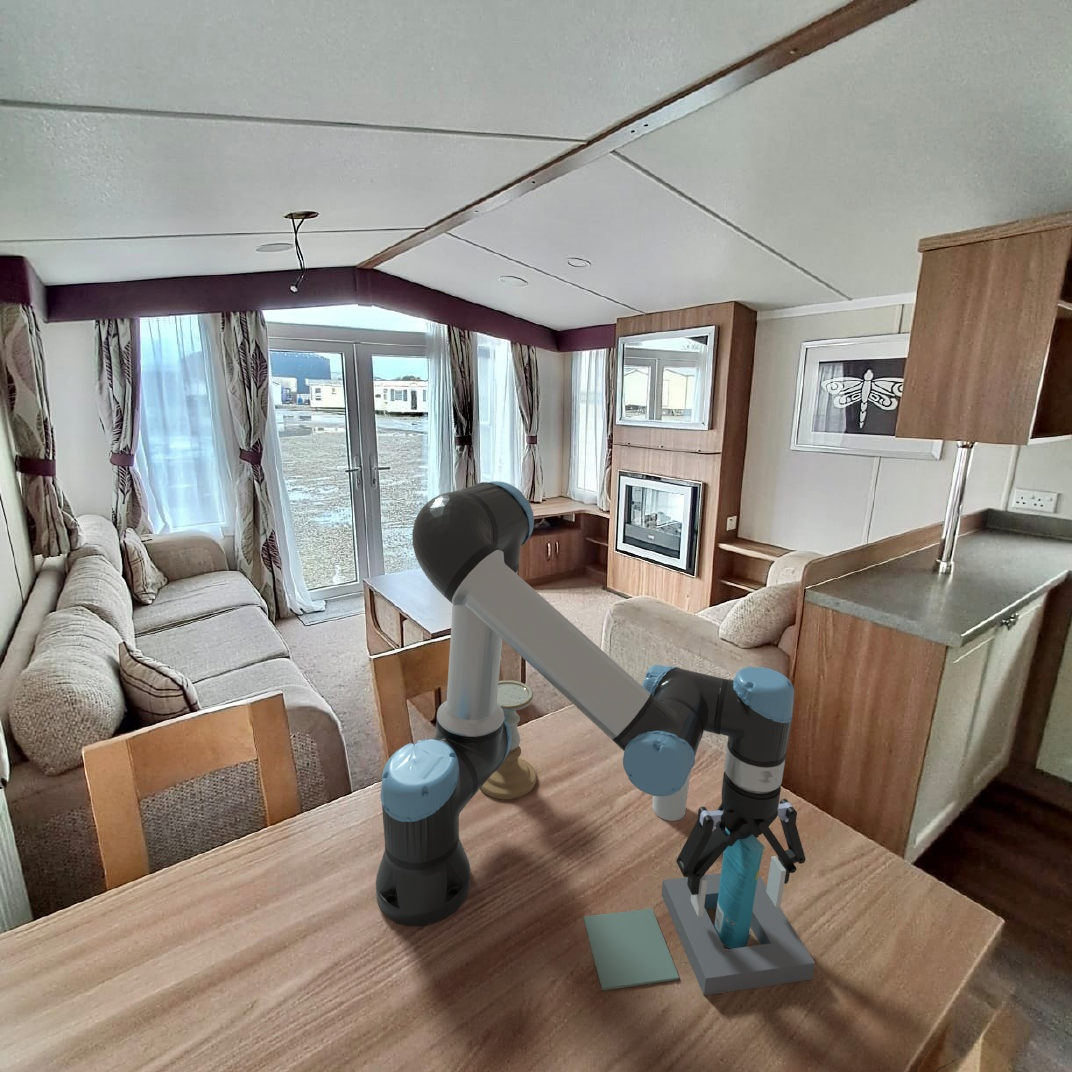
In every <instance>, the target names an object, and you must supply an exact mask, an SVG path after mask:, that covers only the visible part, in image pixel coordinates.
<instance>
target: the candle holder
mask: <svg viewBox="0 0 1072 1072" xmlns="http://www.w3.org/2000/svg"><path fill="white" fill-rule="evenodd" d="M533 700H534V691H533V689H532V687H530V686H529V685H528V684H526V683H523V682H520V681H517V680H513V679H511V680H510V679H509V680H507V679H506V680H504V679H503V680H499V682H498V693H497V704H498V705H499V706H500V707H501V708H502V710H503V713H504V716H505V718H506V719H505V721H506V723H509V725H510V729H511V734H512V742H511V747H510V750H509V753H508V754H507V756H506V758H505V760H504V761H503V763H502V765H501V766H500V767H499V768H498V769H497V770H496V771H495V772H494V773H493V774H492V775H491V776H490V777H489V779H488V780H487V781H486V782H485V783H484V784H483V786H482V787H481V788H480V789H479V790H481V792H483V793H484V794H485V795H487V796H489V797H491V798H495V799H499V800H515V799H518V798H522V797H524V796H526V795H528V793H530V792H531V791H532V790H533V788H534V787H535V785H536V782H537V771H536V770H535V767H534V766H533V765H532V764H531V763H530V762H529V761H527V760H525V759H523V758H521V757H520V756H521V755H522V749H521V746H520V744H521V735H520V733H519V729H518V724H519V722H520V721H521V720H520V715H519V714H518V712H517V711H519V710H523V709H525V708H527V707H528V706H529V705H531V704H532V702H533Z"/></svg>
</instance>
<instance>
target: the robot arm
mask: <svg viewBox="0 0 1072 1072" xmlns="http://www.w3.org/2000/svg"><path fill="white" fill-rule="evenodd" d="M534 525H535V516H534V511H533V508H532V506H531V504H530V502H529V500H528V499H527V498H526V496H525V495H524V494H523V492H522V491H521V490H519V489H518V488H517V487H515V486H514V485H512V484H511V483H508V482H504V481H499V480H497V481H495V480H494V481H482V482H477V483H475V484H473V485H471V486H467V487H464V488H461V489H458V490H453V491H448V492H444V493H442V494H439V495H437V496H435V497H433V498H431V499H430V500H429V501H428V502H427V503H426V504H424V505H423V506H422V507H421V508H420V511H418V514H417V515H416V518H415V520H414V523H413V528H412V532H411V533H412V534H411V535H412V548H413V551H414V555H415V558H416V560H417V562H418V564H419V567H420V568H421V570H422V572H423V573H424V574H425V576H426V578H427V579H428V581H429V582H430V583H431V584H432V586H433V587H435V588H436V590H437V591H438V592H439V593H440V594H441V595H442V596H443V597H444V598H446V600H448V601H449V602H450V604H452V608H451V609H452V611H451V625H450V626H451V627H450V641H449V643H450V644H449V657H448V659H449V660H448V671H447V672H448V673H447V675H448V676H447V687H446V688H447V690H446V701H444V702H443V703H441V704H440V705H439V707H438V709H437V712H436V723H435V734H434V736H433V738H432V739H431V738H427V739H426V738H425V739H420V740H417V741H416V743H414V744H413V743H412V742H409V743H407V744H405V745H404V746H401V747H400V748H399V749H397V750H396V751H395V752H394V753H393V754H391V756H390V757H389V759H388V760H387V762H386V764H385V765H384V767H383V770H382V774H381V786H380V802H381V807H382V808H381V809H382V823H383V834H384V835H383V837H384V839H383V840H384V852H383V854H382V857H381V860H380V864H379V866H378V870H377V873H376V876H375V877H376V878H375V894H376V895H375V896H376V901H377V904H378V906H379V908H380V910H381V912H382V913H383V914H384V915H385V916H386V917H387V918H389V919H390V920H392V921H394V922H395V923H397V924H400V925H401V924H402V925H406V926H409V927H410V926H411V927H412V926H416V927H417V926H418V927H420V926H426V925H427V926H428V925H431V924H435V923H437V922H440V921H442V920H444V919H446V918H447V917H449V916H451V915H452V914H453V913H455V911H457V910H458V909H459V908H460V906H461V905H462V904H463V903H464V902H465V900H466V899H467V896H468V894H469V891H470V888H471V882H472V881H471V864H470V861H469V857H468V856H467V853H466V851H465V849H464V847H463V844H462V842H461V839H460V814H461V812H462V810H463V809H464V808H465V807H466V806H467V804H469V802H470V801H471V800H473V799H472V798H474V796H475V795H476V794H477V792H479V790H481V789H480V788H481V787H482V786H483V784H484V783H485V782H486V781H487V780H488V779H489V777H490V776H491V775H492V774H493V773H494V772H495V771H496V770H497V769H498V768H499V767H500V766H501V765H502V763H503V761H504V760H505V758H506V756H507V754H508V753H509V750H510V747H511V742H512V734H511V729H510V725H509V723H506V721H505V719H506V718H505V716H504V713H503V710H502V708H501V707H500V706H499V705H498V704H497V693H498V682H499V681H500V670H501V661H502V660H501V657H502V647H503V641H504V642H505V643H506V644H507V645H508V646H509V647H510V648H511V649H512V650H514V651H515V652H516V653H517V654H518V655H519V656H520V657H522V659H524V661H526V663H528V664H529V666H531V667H533V669H534V670H535V671H537V672H538V673H539V674H540V675H541V676H542V677H543V678H544V679H546V681H547V682H548V683H550V685H552V686H553V687H554V688H555V689H556V691H558V692H559V693H561V694H562V695H563V696H564V697H565V699H567V700H568V701H569V702H570V703H571V704H572V705H573V706H574V707H576V708H577V710H579V711H580V712H581V713H582V714H583V715H585V717H587V718H588V719H589V720H590V721H591V723H593V724H594V725H596V726H597V727H598V729H599V730H600V731H602V732H603V733H604V734H605V735H606V736H607V737H608V738H610V739H611V741H613V742H614V743H615V745H617V746H618V747H619V749H620V750H623V756H622V757H623V758H622V765H623V769H624V771H625V774H626V775H627V777H628V780H629V781H630V783H631V784H632V785H633V786H634V787H636V789H638V790H639V791H641V792H642V793H645V794H647V795H650V796H652V797H653V796H669V795H672V794H674V793H676V792H677V791H679V790H680V789H681V788H682V786H683V785H684V783H685V781H686V779H687V777H688V775H689V773H690V774H691V771H692V769H694V766H695V762H696V755H697V752H698V749H699V745H700V743H701V740H702V739H703V735H704V732H707V733H711V734H716V735H720V736H726V737H727V743H726V752H725V759H724V768H723V769H724V772H723V776H722V784H721V803H720V805H719V806H718V807H717V810H708V809H707V807H706V806H701V807H699V808H698V810H697V818H696V821H695V824H694V825H693V827H692V829H691V831H690V833H689V834H688V837H687V839H686V841H685V842H684V845H683V847H682V848H681V850H680V852H679V854H678V856H677V857H676V864H677V866H678V868H679V869H680V872H681V874H682V876H683V878H684V877H688V881H687V885H688V888H689V890H690V892H691V903H692V905H693V907H694V909H695V911H696V914H697V916H698V917H702V916H703V912H704V904H705V895H706V887H707V878H706V876H705V875H706V873H707V872H708V871H709V869H710V868H711V867H712V866H713V865H714V864H715V863H716V861H717V860H718V859H719V858H720V857H721V855H723V853H724V851H725V849H726V848H727V847H728V846H733V845H734V843H735V842H736V841H737V840H739V839H745V838H748V837H749V836H751V834H753V835H754V836H755V837H756V838H757V839H758V838H760V837H759V836H761V835H763V836H764V837H765V840H766V841H767V842H768V843H769V845H770V847H771V848H772V849H773V851H774V852H775V854H776V855H777V856H776V855H773V856H772V855H771V856H770V863H769V869H768V877H767V882H766V886H767V889H766V892H767V894H768V896H769V897H770V899H771V900H772V902H773V903H774V905H775V907H780V908H781V904H782V899H783V893H784V887H785V885H787V884H788V882H789V880H790V874H794V873H795V872H796V871H797V866H796V865H795V864H797V863H798V864H800V865H801V864H804V863H805V862H806V860H807V859H806V856H805V852H804V849H803V845H802V842H801V838H800V834H799V831H798V830H799V829H798V827H797V816H798V811H797V810H796V808H795V807H794V806H793V805H792V804H791V803H790V801H789V800H788V799H787V798H780V797H781V792H782V786H781V785H782V782H783V777H784V771H785V770H784V769H785V764H786V755H787V749H788V743H789V738H790V732H791V724H792V719H793V711H794V709H793V708H794V699H795V689H794V685H793V683H792V682H791V680H790V679H789V678H788V677H787V676H785V675H784V674H783V673H781V672H780V671H777V670H774V669H772V668H768V667H764V666H763V667H762V666H758V667H754V666H746V667H743V668H740V669H739V670H738V671H737V672H736V674H735V677H734V679H731V678H727V679H726V678H723V677H718V676H715V675H714V676H713V675H711V674H710V675H709V674H706V673H702V672H697V671H692V670H689V669H684V668H681V667H678V666H668V665H661V664H654V665H652V666H650V667H649V668H648V670H647V671H646V672H645V673H646V674H645V678H644V680H643V684H641V683H640V682H638V681H637V679H635V678H634V677H633V676H632V675H631V674H629V672H627V671H626V670H625V669H624V668H623V667H621V665H619V664H618V663H617V662H616V661H615V660H614V659H613V658H612V657H611V656H609V655H608V654H607V653H606V652H605V651H604V650H602V649H601V648H600V647H599V645H597V644H596V643H595V642H594V641H593V640H591V639H590V638H589V636H587V635H586V634H585V633H583V631H581V630H580V629H579V628H578V627H577V626H576V625H575V624H573V622H571V621H570V620H569V619H568V618H567V617H565V616H564V615H563V614H562V613H561V612H560V611H559V610H558V609H557V608H556V607H554V606H553V605H552V603H550V602H549V601H547V599H545V598H544V597H543V596H542V595H541V594H540V593H539V592H538V591H536V590H535V588H534V587H532V586H531V585H530V584H529V583H527V582H526V581H525V580H524V579H523V578H522V577H521V576H520V575H518V572H519V568H520V565H519V564H520V558H521V557H520V556H521V548H522V546H523V545H525V544H526V543H527V542H528V540H529V538H530V537H531V536H532V534H533V530H534ZM780 799H781V800H780ZM777 818H779V821H780V824H781V827H782V832H783V834H784V838H785V841H786V845H787V849H786V850H785V849H784V848H783V846H782V845H781V843H780V842H779V840H778V838H777V837H776V835H775V834H774V833H773V831H772V829H771V828H770V826H771V825H772V823H773V822H774V821H775V820H776V819H777ZM726 828H727V830H728V831H729V832H730V834H729V835H728V833H727V832H726Z"/></svg>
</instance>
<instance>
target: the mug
mask: <svg viewBox="0 0 1072 1072" xmlns="http://www.w3.org/2000/svg"><path fill="white" fill-rule="evenodd" d="M690 777H691V772H690V773H689V775H688V777H687V779H686V781H685V783H684V785H683V786H682V788H681V789H680V790H679V791H677V792H676V793H674V794H672V795H669V796H653V795H652V806H651V807H652V811H653V813H654V814H655V815H656V816H657V817H659V818H661V819H663V820H665V821H669V822H670V821H671V822H674V821H679V820H682V819H683V818H684V816H685V814H686V808H687V803H688V796H689V795H688V792H689V785H690V779H691V778H690Z"/></svg>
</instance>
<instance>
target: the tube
mask: <svg viewBox="0 0 1072 1072" xmlns="http://www.w3.org/2000/svg"><path fill="white" fill-rule="evenodd" d="M725 830H726V832H727V833H728V835H729V834H730V832H729V831H728V830H727V828H726V827H725ZM764 850H765V846H764V844H763V843H761V841H760V840H759V839H758V838H756V837H755V836H754V835H753V834H751V836H749V837H748V838H745V839H739V840H737V841H736V842H735V843H734V845H733V846H728V847H727V848H726V849H725V851H724V852H723V853H722V863H721V871H720V873H721V878H720V886H719V894H718V902H717V908H716V911H715V918H714V919H715V920H714V925H713V926H714V928H715V930H716V932H717V934H718V936H719V938H720V940H721V942H722V944H723V946H724V947H727V948H728V949H733V948H741V947H747V945H748V941H749V938H750V936H749V935H750V929H751V927H750V923H751V917H752V910H753V904H754V897H755V891H756V885H757V880H758V874H759V875H760V867H761V862H762V857H763V853H764Z"/></svg>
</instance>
